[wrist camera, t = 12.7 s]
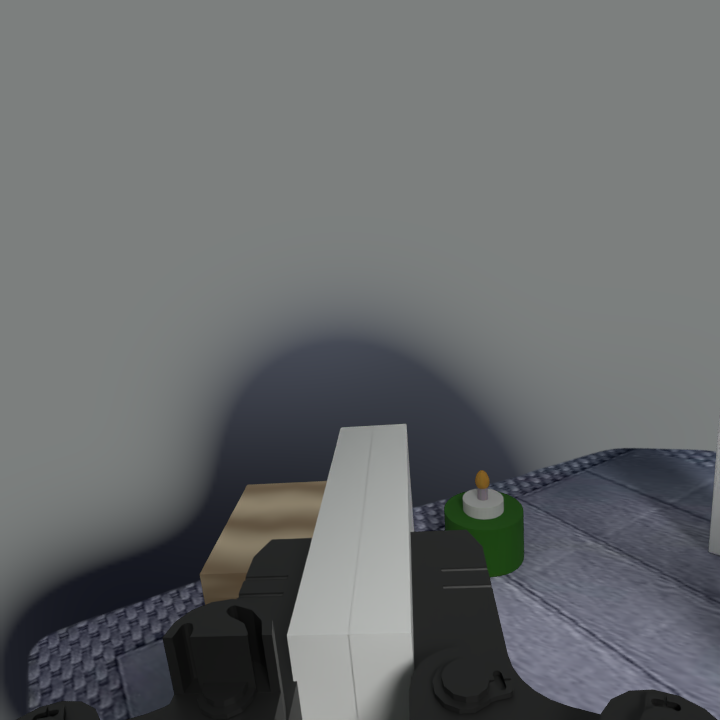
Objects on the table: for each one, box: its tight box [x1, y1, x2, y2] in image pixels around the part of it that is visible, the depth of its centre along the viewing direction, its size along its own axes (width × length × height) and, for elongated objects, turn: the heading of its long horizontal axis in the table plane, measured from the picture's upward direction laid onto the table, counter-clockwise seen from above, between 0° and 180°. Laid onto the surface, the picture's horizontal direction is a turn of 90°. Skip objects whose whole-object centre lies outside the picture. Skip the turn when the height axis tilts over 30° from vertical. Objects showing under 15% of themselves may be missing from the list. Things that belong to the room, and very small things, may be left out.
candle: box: [444, 470, 524, 577], centre depth 62 cm, size 8×8×10 cm
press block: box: [200, 481, 327, 605], centre depth 49 cm, size 21×16×12 cm
